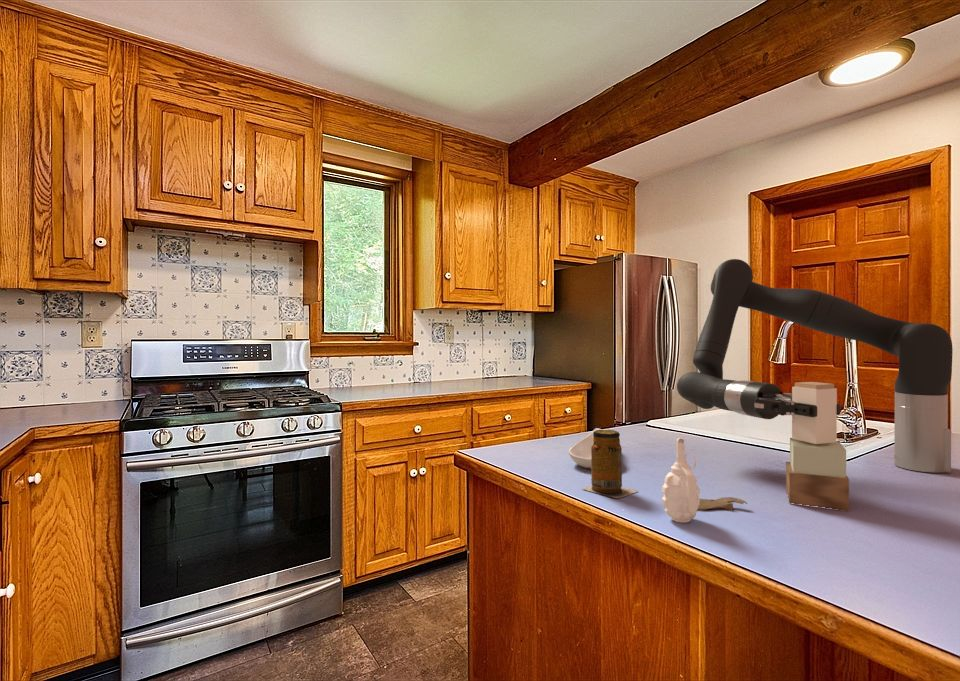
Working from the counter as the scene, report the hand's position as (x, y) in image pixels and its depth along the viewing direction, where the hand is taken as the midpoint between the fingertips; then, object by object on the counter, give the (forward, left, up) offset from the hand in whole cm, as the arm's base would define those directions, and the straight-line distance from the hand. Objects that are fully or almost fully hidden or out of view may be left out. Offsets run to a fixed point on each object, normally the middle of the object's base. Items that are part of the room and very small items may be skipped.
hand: (827, 410), depth 93 cm
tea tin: (+2, -2, -6) cm, 7 cm away
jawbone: (+21, +4, -18) cm, 28 cm away
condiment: (+38, +9, -18) cm, 43 cm away
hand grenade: (+23, +20, -18) cm, 35 cm away
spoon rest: (+46, -14, -18) cm, 52 cm away
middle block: (+2, -2, -12) cm, 12 cm away
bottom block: (+2, -2, -18) cm, 18 cm away
